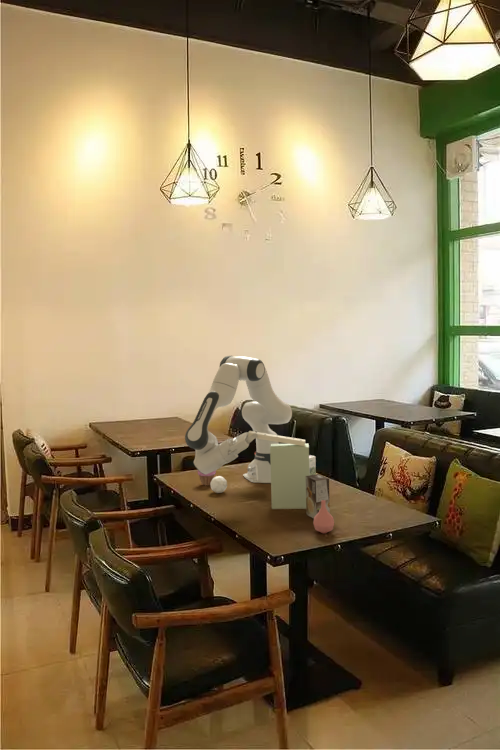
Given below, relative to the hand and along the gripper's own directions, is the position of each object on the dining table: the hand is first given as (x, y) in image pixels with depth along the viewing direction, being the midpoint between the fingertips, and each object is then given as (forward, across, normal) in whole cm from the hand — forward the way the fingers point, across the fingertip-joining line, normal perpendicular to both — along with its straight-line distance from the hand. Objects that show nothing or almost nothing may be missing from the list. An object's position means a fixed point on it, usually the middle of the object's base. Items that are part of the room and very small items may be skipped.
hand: (257, 433), depth 275 cm
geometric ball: (-33, +22, +17) cm, 44 cm away
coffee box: (+5, -15, +40) cm, 43 cm away
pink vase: (+7, -34, +40) cm, 53 cm away
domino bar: (+5, 0, +7) cm, 9 cm away
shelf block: (-4, 0, +34) cm, 34 cm away
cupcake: (-40, +37, +14) cm, 56 cm away
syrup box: (+3, +32, +38) cm, 49 cm away
